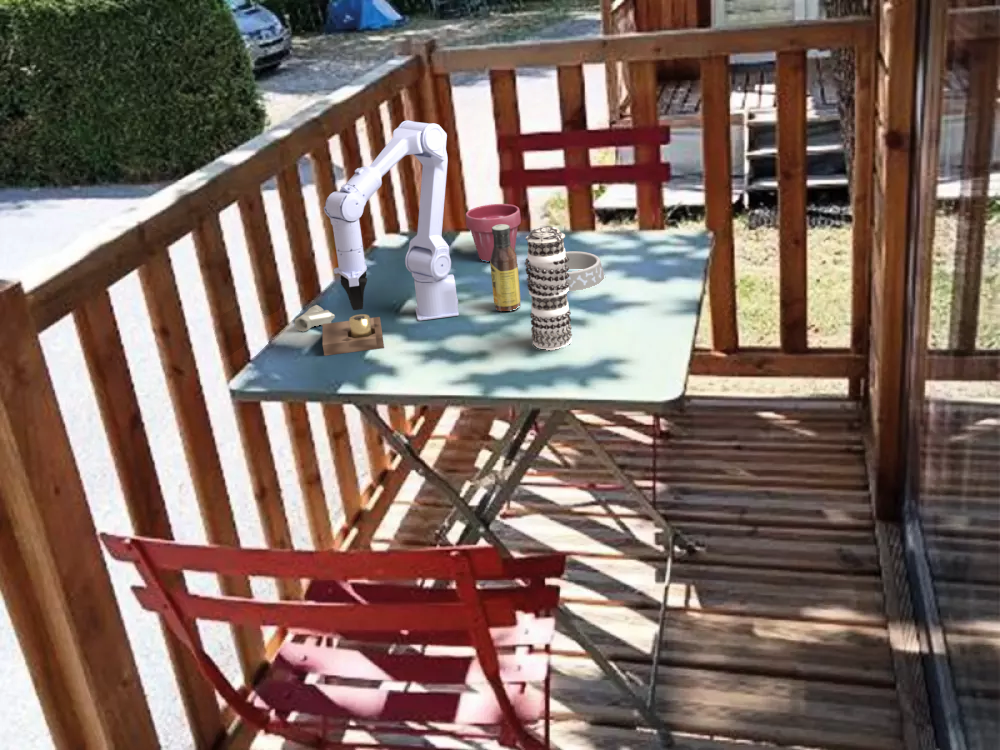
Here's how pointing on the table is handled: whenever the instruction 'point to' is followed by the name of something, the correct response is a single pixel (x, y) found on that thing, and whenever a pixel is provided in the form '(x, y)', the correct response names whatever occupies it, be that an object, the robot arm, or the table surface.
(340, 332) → the walnut jig plate
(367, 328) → the brass bushing
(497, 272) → the sauce bottle
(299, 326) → the pipe fitting
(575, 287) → the dog bowl
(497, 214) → the plant pot
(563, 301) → the decorative candle
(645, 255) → the table surface
